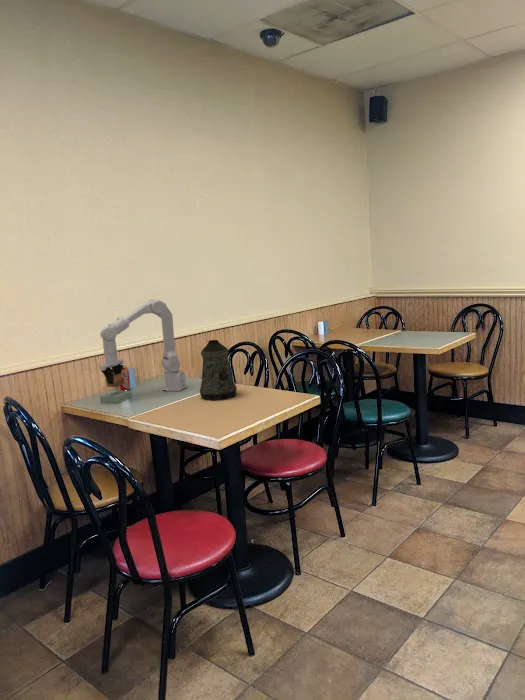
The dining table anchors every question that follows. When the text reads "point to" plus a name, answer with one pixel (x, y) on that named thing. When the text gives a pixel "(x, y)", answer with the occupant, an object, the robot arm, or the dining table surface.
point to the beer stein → (216, 373)
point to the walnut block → (115, 381)
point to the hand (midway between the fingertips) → (114, 382)
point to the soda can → (124, 380)
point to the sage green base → (115, 396)
